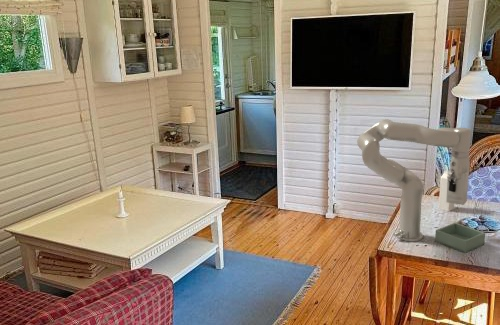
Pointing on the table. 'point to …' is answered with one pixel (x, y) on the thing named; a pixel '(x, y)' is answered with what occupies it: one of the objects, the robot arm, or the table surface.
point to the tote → (460, 237)
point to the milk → (444, 194)
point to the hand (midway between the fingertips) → (457, 189)
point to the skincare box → (458, 190)
